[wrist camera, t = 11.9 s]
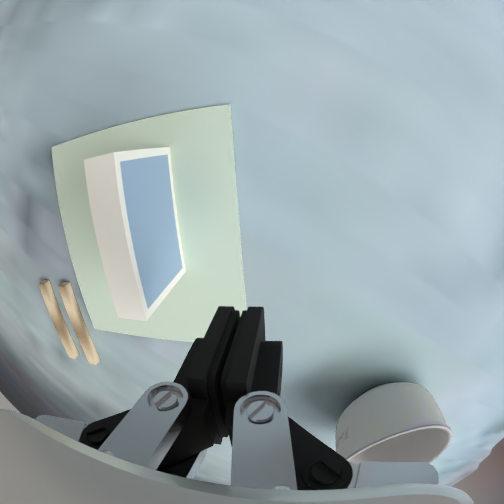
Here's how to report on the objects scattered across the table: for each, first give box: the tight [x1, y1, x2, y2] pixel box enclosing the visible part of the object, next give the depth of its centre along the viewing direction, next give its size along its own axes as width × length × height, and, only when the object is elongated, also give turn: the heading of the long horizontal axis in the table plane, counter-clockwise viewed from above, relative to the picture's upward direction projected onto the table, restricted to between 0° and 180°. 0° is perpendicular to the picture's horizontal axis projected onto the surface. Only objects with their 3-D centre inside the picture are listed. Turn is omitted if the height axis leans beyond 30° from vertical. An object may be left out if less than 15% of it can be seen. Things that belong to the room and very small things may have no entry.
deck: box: [84, 147, 186, 321], centre depth 16 cm, size 9×2×6 cm, turn 4°
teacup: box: [336, 382, 452, 464], centre depth 20 cm, size 14×11×8 cm
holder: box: [39, 280, 100, 365], centre depth 25 cm, size 10×5×1 cm, turn 4°
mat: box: [51, 104, 247, 342], centre depth 20 cm, size 18×16×1 cm
